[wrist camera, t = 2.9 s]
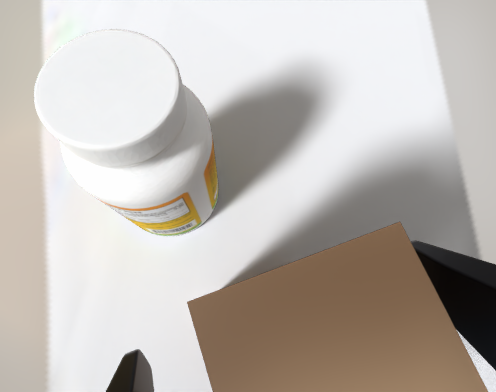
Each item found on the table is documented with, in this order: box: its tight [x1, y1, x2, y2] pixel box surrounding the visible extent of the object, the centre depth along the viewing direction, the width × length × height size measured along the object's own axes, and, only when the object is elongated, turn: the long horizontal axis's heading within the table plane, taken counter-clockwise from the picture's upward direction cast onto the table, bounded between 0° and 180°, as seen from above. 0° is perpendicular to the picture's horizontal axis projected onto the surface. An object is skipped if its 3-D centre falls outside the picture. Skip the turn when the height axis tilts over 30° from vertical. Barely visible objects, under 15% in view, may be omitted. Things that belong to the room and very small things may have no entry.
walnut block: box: [187, 222, 488, 392], centre depth 10 cm, size 4×4×11 cm
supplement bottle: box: [34, 29, 218, 236], centre depth 13 cm, size 5×5×10 cm
